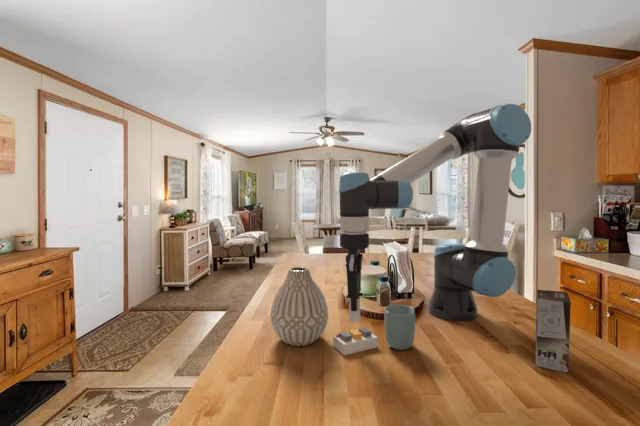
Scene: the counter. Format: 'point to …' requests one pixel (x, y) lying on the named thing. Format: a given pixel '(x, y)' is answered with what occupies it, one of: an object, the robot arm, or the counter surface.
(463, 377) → the counter surface
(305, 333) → the vase
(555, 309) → the coffee box
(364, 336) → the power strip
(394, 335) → the cup
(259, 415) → the counter surface
